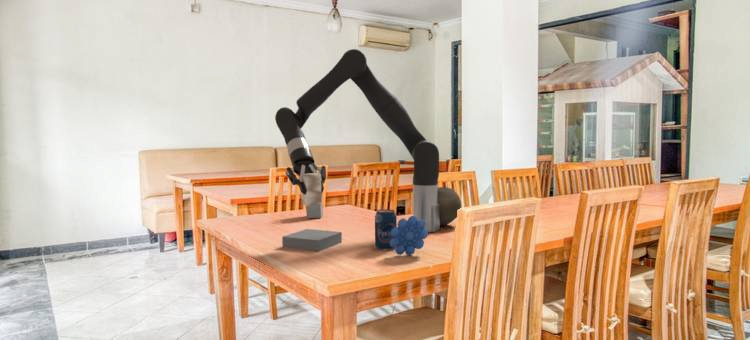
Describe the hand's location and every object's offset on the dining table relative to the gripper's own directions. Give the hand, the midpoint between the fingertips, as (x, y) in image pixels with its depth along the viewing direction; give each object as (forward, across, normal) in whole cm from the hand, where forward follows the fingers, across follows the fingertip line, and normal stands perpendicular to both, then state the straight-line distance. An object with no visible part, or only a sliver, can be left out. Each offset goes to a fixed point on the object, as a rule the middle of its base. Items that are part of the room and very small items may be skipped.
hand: (313, 192), depth 166 cm
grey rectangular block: (-25, +20, +50) cm, 59 cm away
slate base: (+12, 0, +14) cm, 18 cm away
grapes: (+31, +20, -6) cm, 37 cm away
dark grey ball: (+8, +56, +17) cm, 59 cm away
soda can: (+23, +19, +2) cm, 30 cm away
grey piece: (+2, 0, +4) cm, 5 cm away
